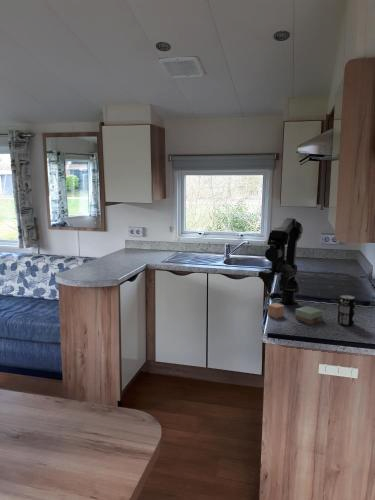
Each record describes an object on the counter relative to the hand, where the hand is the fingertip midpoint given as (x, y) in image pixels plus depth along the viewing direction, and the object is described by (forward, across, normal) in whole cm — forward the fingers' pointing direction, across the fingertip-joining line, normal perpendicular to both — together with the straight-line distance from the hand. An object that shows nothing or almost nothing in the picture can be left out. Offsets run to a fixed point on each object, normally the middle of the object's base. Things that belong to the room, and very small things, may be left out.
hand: (276, 291), depth 175 cm
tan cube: (+11, 0, 0) cm, 11 cm away
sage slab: (+9, +8, -12) cm, 17 cm away
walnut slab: (+12, +8, -12) cm, 19 cm away
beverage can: (+12, +17, -24) cm, 32 cm away
